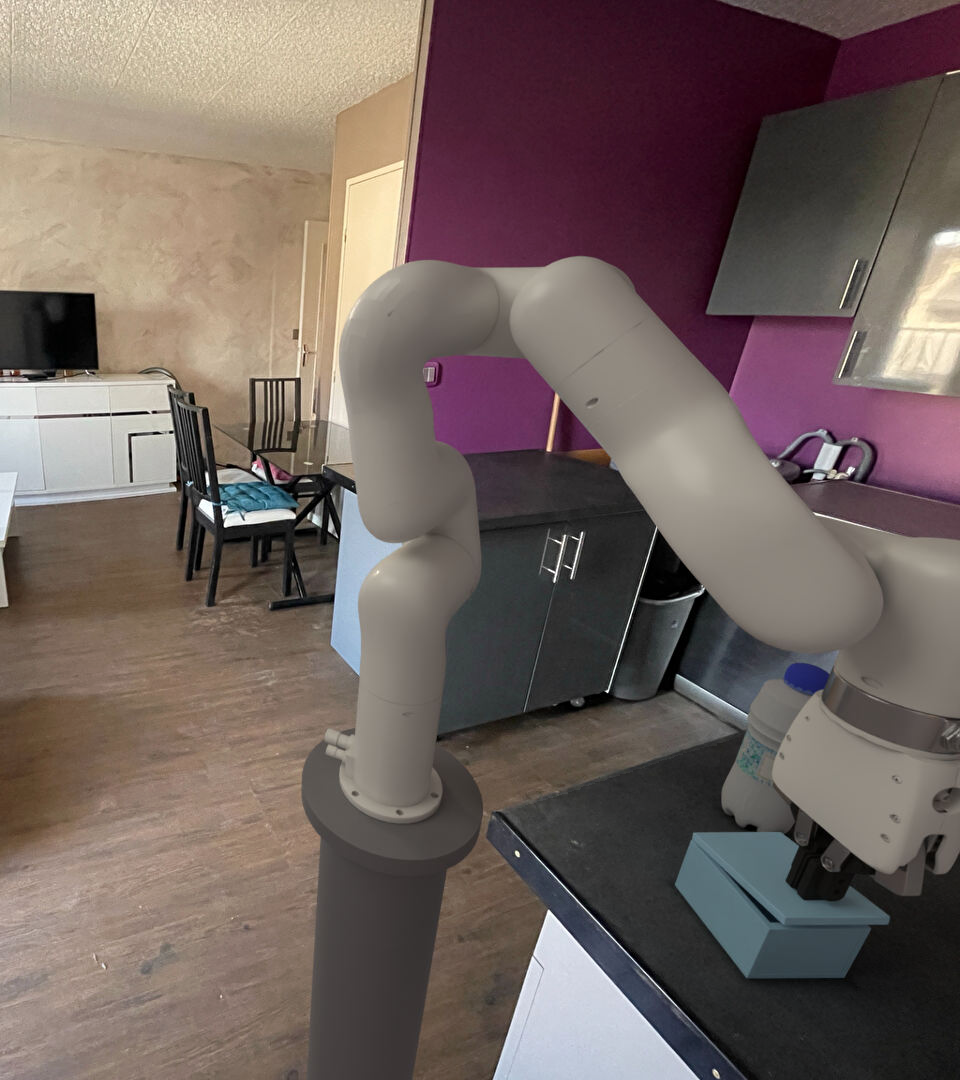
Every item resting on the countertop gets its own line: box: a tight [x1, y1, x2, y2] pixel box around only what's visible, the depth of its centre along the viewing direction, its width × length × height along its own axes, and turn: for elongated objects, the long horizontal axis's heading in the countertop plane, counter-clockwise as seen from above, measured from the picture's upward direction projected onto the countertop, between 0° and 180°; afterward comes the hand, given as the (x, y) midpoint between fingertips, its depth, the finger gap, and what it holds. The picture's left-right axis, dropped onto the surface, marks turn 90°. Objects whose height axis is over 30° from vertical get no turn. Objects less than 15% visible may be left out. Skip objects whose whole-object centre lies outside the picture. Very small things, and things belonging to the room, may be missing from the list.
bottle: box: [721, 662, 830, 835], centre depth 62 cm, size 7×7×20 cm
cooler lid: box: [691, 831, 891, 926], centre depth 51 cm, size 10×8×1 cm
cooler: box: [674, 839, 872, 979], centre depth 53 cm, size 9×8×6 cm
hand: (811, 891), depth 48 cm, fingers closed
